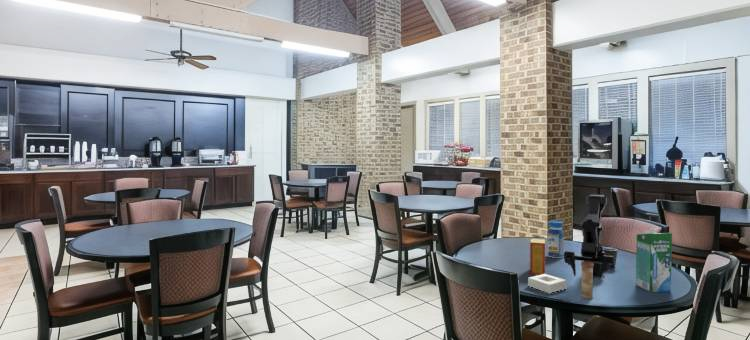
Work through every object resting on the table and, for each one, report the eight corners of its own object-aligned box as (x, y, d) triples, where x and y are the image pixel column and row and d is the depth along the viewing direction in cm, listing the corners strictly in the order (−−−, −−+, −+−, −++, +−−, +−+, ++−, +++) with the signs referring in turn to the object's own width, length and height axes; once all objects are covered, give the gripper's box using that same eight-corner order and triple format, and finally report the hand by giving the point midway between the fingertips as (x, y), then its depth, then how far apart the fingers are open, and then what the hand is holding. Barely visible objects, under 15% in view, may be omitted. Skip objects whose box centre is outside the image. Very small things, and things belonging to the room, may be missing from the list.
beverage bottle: (566, 258, 224) (566, 222, 223) (551, 258, 224) (551, 222, 223) (559, 254, 232) (560, 220, 231) (545, 254, 233) (545, 220, 232)
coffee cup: (620, 269, 203) (621, 249, 202) (603, 268, 204) (603, 249, 204) (614, 265, 211) (614, 246, 210) (597, 264, 212) (597, 245, 212)
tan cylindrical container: (590, 295, 168) (590, 261, 167) (595, 299, 164) (595, 264, 163) (578, 295, 168) (579, 261, 168) (583, 299, 164) (584, 264, 163)
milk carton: (655, 284, 180) (656, 228, 179) (671, 291, 171) (672, 232, 170) (635, 284, 180) (636, 229, 179) (650, 292, 171) (651, 233, 170)
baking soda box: (531, 268, 206) (531, 237, 205) (545, 270, 203) (545, 238, 202) (530, 274, 197) (530, 241, 196) (544, 275, 195) (544, 242, 194)
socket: (544, 282, 185) (544, 273, 185) (566, 289, 175) (566, 280, 175) (528, 286, 180) (528, 277, 179) (549, 294, 170) (549, 284, 170)
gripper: (564, 232, 174) (560, 263, 165) (614, 236, 164) (613, 270, 155) (566, 246, 181) (562, 277, 172) (615, 252, 171) (613, 285, 162)
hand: (587, 277), depth 165 cm, fingers open, 9 cm apart
